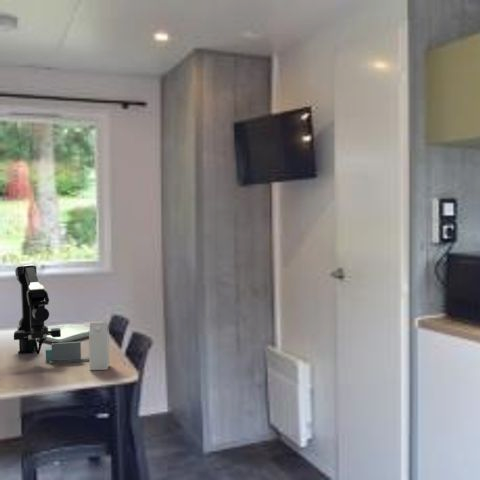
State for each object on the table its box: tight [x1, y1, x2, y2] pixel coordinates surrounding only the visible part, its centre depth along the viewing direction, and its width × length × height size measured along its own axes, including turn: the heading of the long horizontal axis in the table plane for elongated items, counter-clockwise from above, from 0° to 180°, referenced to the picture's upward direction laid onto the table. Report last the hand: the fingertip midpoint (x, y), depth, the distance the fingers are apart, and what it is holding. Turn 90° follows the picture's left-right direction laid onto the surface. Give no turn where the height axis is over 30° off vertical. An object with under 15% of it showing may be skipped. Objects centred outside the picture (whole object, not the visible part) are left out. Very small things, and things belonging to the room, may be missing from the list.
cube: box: [45, 346, 52, 362], centre depth 261 cm, size 5×5×5 cm
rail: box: [48, 356, 90, 365], centre depth 259 cm, size 21×4×1 cm, turn 107°
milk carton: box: [88, 321, 110, 371], centre depth 248 cm, size 7×7×19 cm
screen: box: [51, 341, 82, 360], centre depth 258 cm, size 12×1×7 cm, turn 107°
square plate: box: [36, 323, 90, 343], centre depth 305 cm, size 27×27×4 cm
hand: (38, 353), depth 254 cm, fingers closed
